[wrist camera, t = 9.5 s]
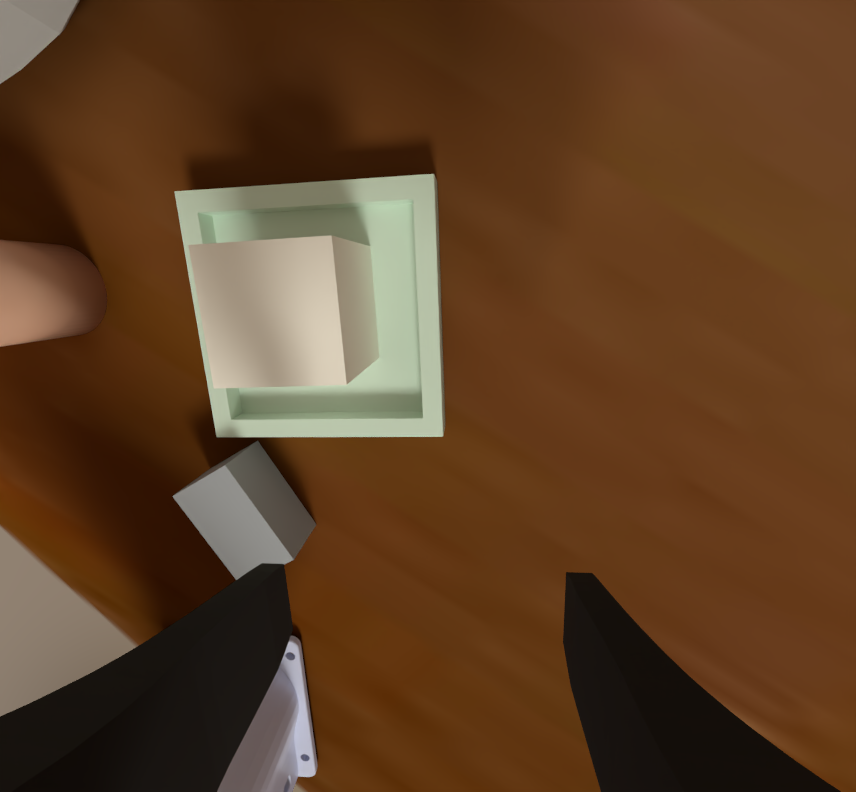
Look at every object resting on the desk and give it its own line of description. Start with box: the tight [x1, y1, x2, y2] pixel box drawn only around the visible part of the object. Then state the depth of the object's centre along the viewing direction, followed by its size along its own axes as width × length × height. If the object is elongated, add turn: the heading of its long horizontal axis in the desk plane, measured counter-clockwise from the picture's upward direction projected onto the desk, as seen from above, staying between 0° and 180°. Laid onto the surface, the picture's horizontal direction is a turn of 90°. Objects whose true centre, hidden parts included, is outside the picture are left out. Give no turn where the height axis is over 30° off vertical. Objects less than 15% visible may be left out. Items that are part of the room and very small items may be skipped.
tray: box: [174, 174, 445, 437], centre depth 19 cm, size 10×10×1 cm
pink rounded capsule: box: [0, 240, 107, 347], centre depth 18 cm, size 4×4×5 cm
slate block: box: [172, 441, 316, 580], centre depth 21 cm, size 5×3×3 cm, turn 31°
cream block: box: [188, 235, 379, 389], centre depth 16 cm, size 4×4×5 cm
